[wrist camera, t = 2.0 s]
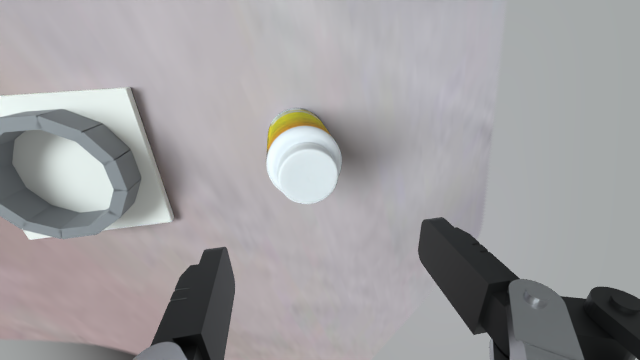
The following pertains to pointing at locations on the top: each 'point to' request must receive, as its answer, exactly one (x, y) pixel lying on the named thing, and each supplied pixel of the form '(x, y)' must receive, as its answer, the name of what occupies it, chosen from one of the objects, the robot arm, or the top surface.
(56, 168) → the ring holder
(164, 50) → the top surface
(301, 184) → the supplement bottle
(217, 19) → the top surface
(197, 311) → the robot arm
